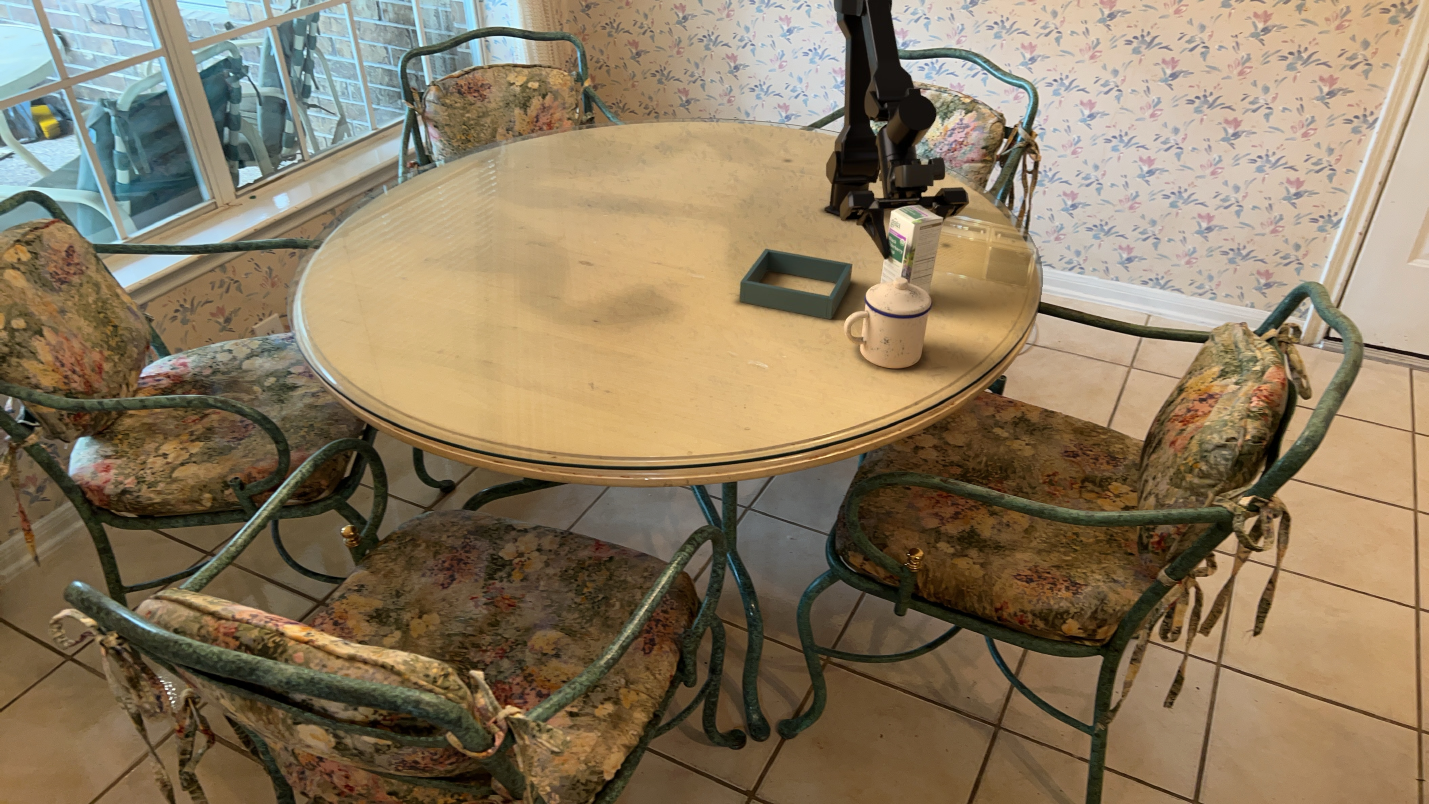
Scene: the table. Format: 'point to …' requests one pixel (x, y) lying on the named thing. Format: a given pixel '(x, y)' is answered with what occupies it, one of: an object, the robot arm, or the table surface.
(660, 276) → the table surface
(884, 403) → the table surface
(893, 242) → the syrup box
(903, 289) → the teacup with lid
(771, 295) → the teal square frame
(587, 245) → the table surface
